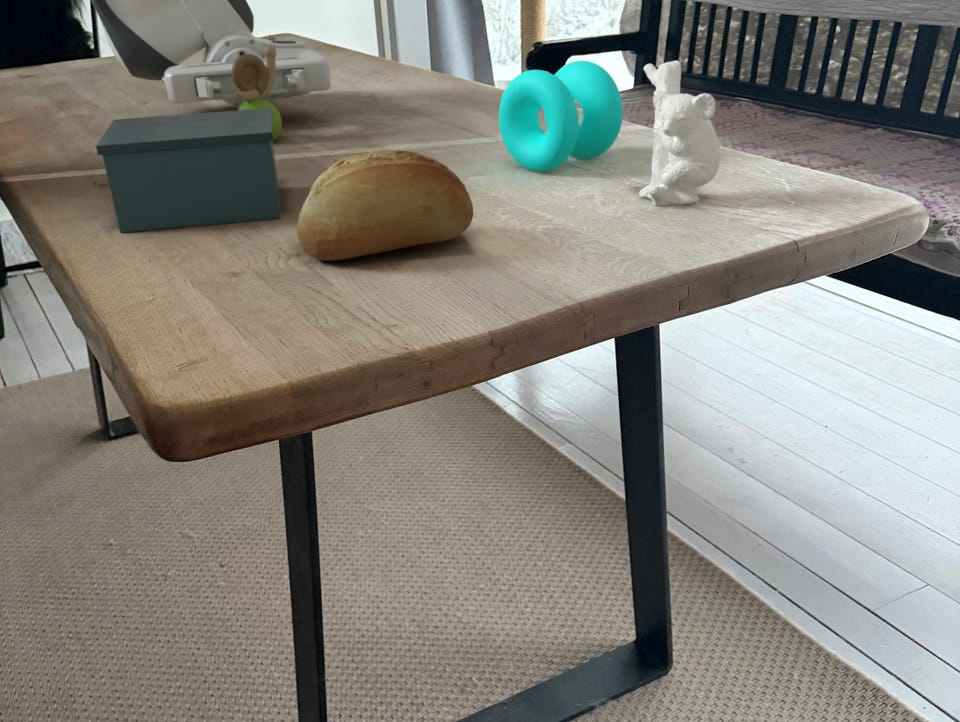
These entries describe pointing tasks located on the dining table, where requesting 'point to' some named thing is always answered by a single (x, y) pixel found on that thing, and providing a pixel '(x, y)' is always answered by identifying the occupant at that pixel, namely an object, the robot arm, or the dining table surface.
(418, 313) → the dining table surface
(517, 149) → the donuts
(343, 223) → the bread roll
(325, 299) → the dining table surface
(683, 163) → the koala figurine
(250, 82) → the snail figurine
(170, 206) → the container
